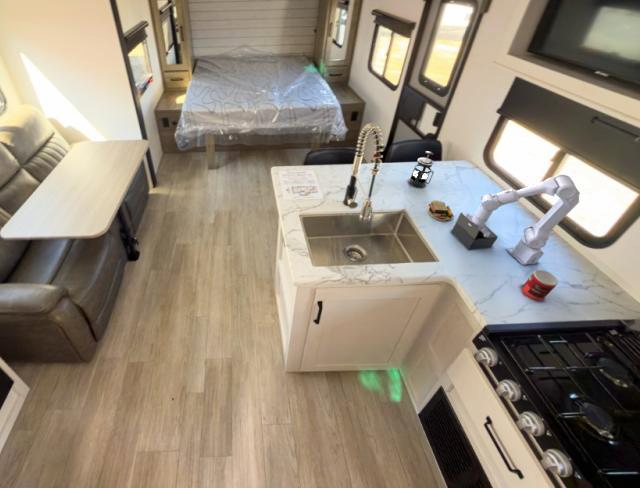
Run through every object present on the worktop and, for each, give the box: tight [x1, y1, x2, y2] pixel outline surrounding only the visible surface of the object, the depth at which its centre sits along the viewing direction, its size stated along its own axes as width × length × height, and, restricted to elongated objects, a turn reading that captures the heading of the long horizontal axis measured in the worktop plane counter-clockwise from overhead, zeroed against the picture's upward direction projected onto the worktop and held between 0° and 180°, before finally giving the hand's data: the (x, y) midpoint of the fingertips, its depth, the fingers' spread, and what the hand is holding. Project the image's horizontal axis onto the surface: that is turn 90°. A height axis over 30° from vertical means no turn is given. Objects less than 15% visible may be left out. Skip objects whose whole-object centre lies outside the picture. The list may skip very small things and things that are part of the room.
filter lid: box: [455, 212, 480, 239], centre depth 157 cm, size 13×6×1 cm
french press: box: [408, 150, 435, 189], centre depth 197 cm, size 12×9×23 cm
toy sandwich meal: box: [427, 200, 454, 222], centre depth 178 cm, size 12×14×5 cm
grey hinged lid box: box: [451, 222, 498, 250], centre depth 162 cm, size 13×13×7 cm
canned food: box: [521, 269, 559, 302], centre depth 134 cm, size 8×8×11 cm
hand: (469, 236), depth 161 cm, fingers open, 4 cm apart
